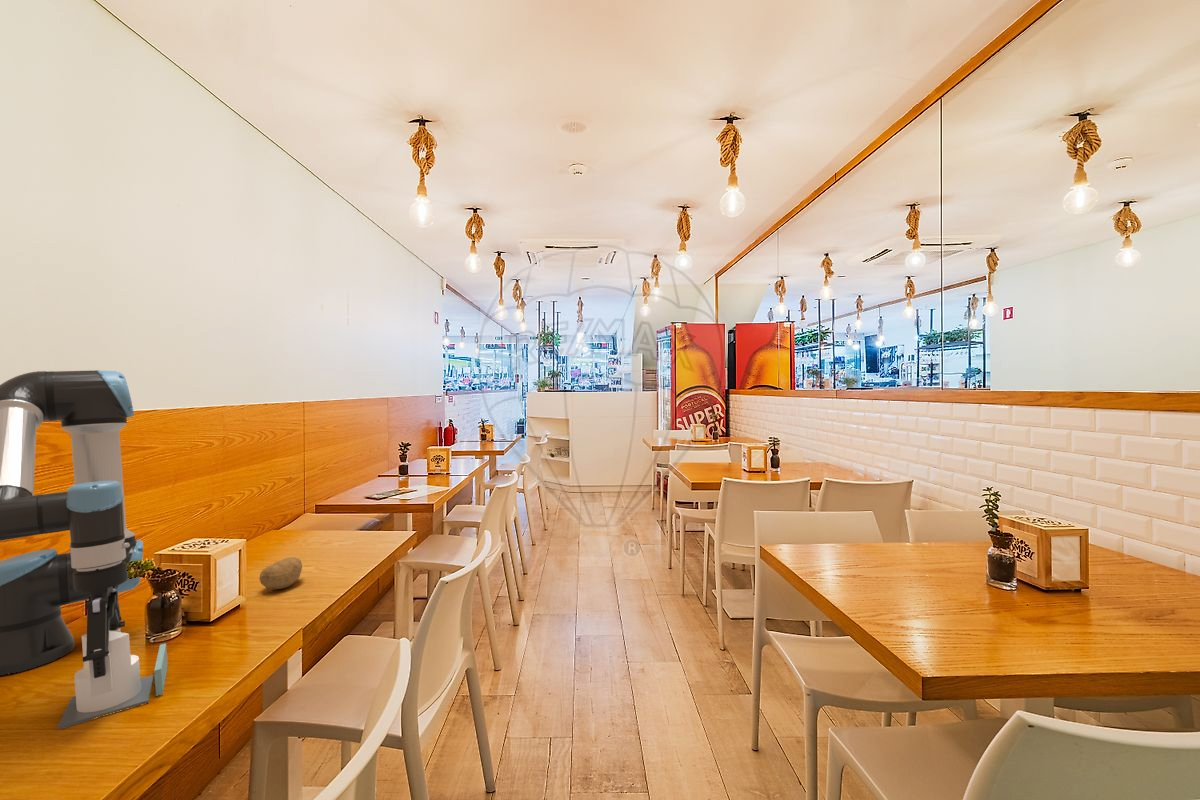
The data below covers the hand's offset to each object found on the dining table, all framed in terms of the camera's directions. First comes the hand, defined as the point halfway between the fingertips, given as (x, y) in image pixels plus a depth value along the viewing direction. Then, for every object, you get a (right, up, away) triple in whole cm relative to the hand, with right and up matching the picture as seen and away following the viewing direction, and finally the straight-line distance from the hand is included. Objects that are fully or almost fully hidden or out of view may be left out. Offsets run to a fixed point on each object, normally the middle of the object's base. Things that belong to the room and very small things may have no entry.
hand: (108, 677), depth 102 cm
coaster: (0, -5, 0) cm, 4 cm away
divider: (+5, -4, +7) cm, 9 cm away
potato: (-2, -4, +60) cm, 60 cm away
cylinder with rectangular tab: (0, -4, 0) cm, 4 cm away
